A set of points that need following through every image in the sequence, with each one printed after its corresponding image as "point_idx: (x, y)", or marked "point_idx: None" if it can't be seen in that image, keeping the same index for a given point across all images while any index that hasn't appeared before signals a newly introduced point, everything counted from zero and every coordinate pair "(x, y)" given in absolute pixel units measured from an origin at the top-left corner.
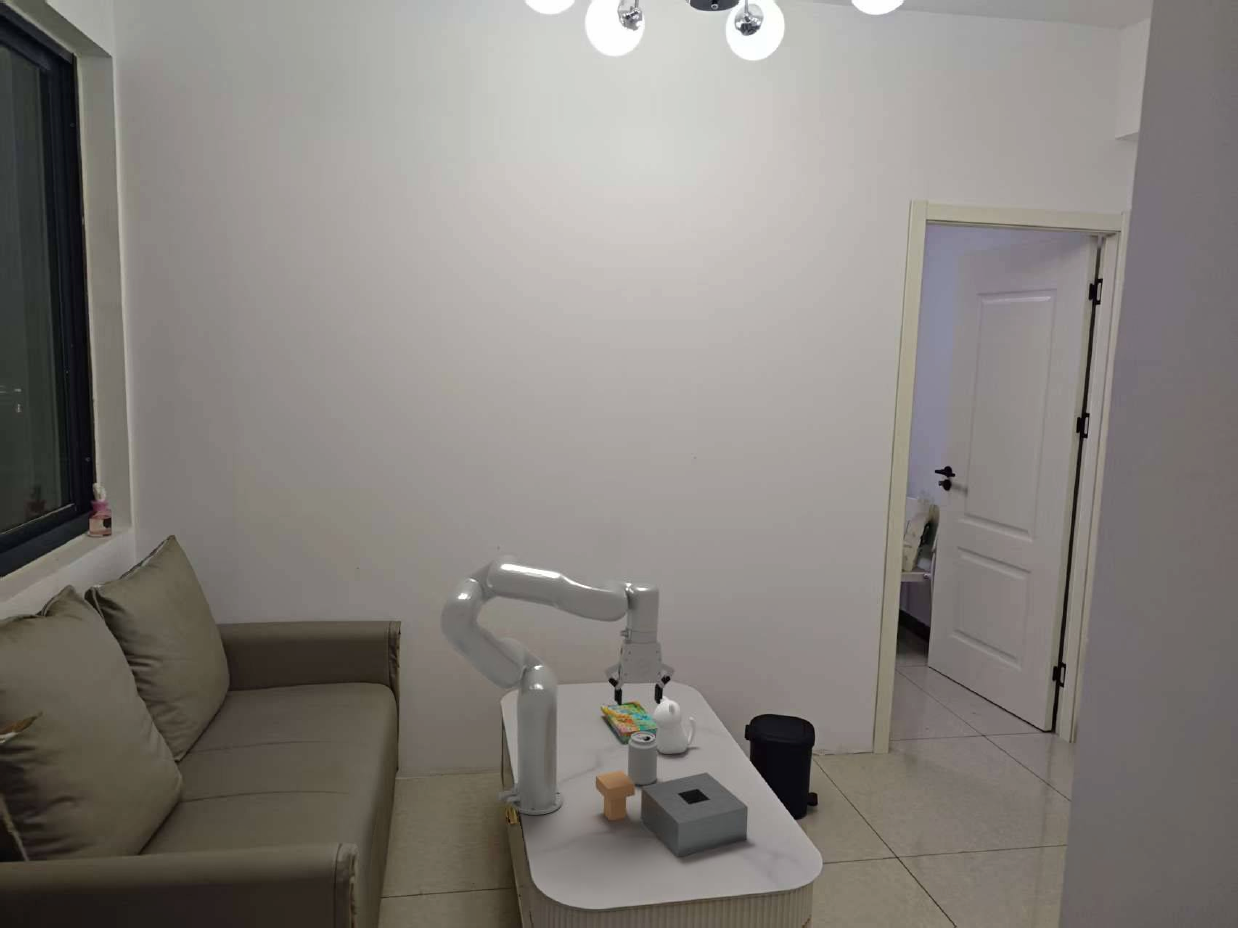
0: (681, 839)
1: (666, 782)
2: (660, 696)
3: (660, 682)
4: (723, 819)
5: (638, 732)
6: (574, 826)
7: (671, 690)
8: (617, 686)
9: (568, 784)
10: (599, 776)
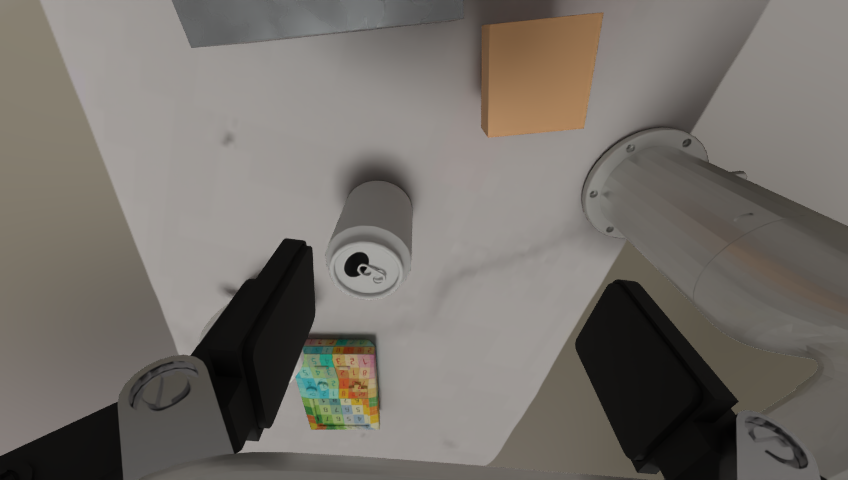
0: None
1: (362, 19)
2: (257, 278)
3: (163, 445)
4: None
5: (371, 297)
6: (632, 44)
7: None
8: (793, 458)
9: (538, 234)
10: (575, 121)
